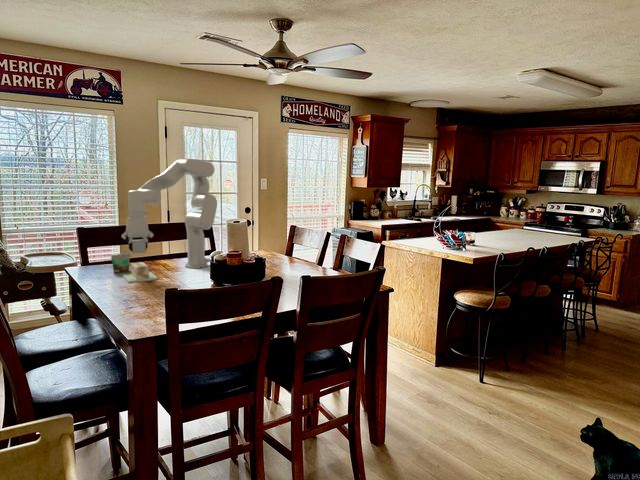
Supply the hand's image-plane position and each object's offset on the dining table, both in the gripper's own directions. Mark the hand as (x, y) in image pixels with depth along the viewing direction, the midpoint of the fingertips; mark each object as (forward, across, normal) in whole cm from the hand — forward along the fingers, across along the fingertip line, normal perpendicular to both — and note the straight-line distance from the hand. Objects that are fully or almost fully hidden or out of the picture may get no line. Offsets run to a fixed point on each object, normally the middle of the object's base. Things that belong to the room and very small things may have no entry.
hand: (138, 249), depth 224 cm
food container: (+15, +4, -20) cm, 25 cm away
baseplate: (+15, 0, 0) cm, 15 cm away
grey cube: (+1, 0, 0) cm, 1 cm away
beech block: (+14, 0, 0) cm, 14 cm away
